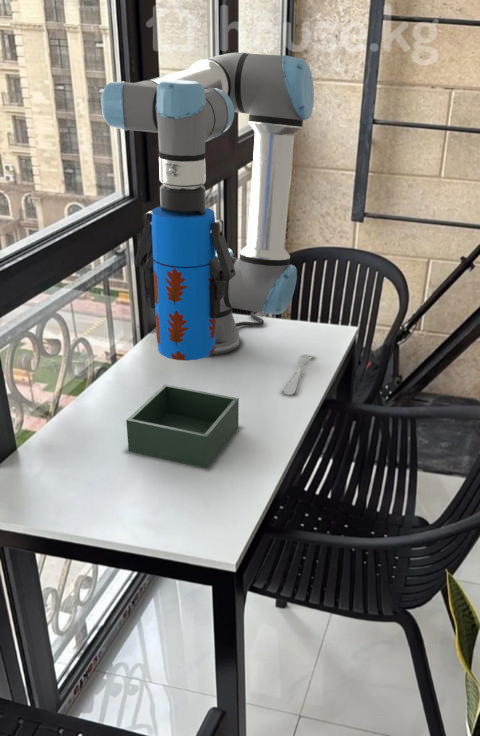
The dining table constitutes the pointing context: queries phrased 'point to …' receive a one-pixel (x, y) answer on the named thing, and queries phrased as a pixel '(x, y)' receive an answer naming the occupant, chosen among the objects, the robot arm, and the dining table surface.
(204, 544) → the dining table surface
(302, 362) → the fork
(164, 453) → the box
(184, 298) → the thermos
